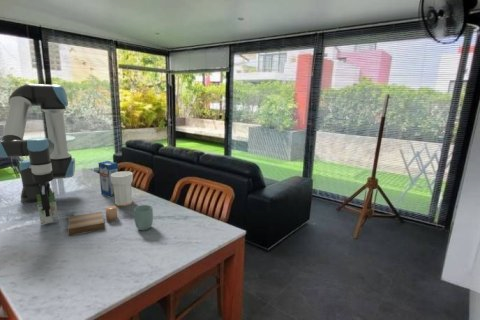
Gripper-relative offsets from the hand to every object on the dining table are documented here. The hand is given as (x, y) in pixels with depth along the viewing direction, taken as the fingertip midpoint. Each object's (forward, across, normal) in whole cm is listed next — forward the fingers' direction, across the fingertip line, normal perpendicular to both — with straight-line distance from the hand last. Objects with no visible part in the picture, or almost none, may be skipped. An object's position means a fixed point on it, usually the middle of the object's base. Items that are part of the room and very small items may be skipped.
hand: (49, 219), depth 127 cm
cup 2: (+2, +26, +38) cm, 46 cm away
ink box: (+1, 0, 0) cm, 1 cm away
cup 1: (+2, -10, +34) cm, 36 cm away
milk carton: (+3, -30, +29) cm, 41 cm away
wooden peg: (+2, +8, +26) cm, 27 cm away
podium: (+2, +10, +15) cm, 18 cm away
